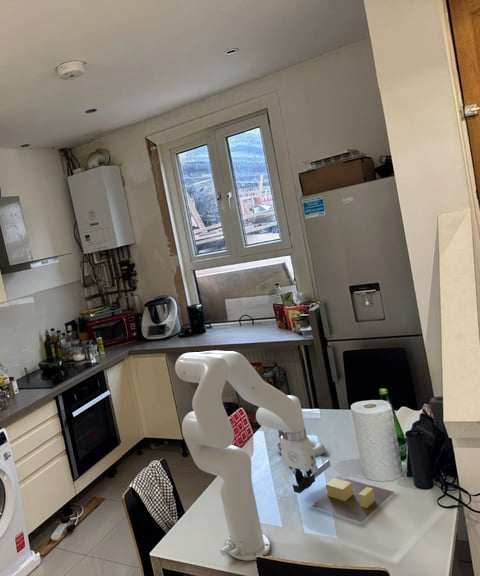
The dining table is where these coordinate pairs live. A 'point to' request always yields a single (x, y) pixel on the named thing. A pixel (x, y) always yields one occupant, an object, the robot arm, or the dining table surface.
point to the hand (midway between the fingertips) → (304, 485)
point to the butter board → (353, 502)
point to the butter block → (339, 489)
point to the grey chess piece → (280, 441)
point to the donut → (317, 447)
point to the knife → (299, 484)
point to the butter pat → (366, 497)
